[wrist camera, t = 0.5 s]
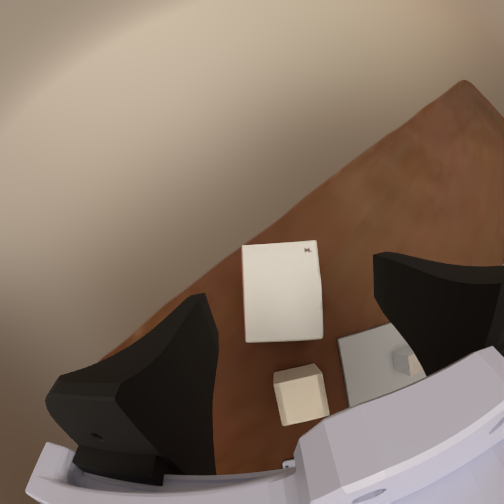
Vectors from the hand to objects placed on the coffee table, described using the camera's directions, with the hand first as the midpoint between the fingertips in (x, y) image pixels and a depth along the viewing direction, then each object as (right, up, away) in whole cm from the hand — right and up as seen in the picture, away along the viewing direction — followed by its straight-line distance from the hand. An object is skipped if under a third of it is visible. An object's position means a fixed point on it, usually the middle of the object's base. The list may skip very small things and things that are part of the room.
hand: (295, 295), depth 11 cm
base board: (+18, -12, +20) cm, 29 cm away
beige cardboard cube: (+4, -15, +20) cm, 25 cm away
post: (+18, -12, +20) cm, 29 cm away
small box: (+2, -4, +23) cm, 23 cm away
